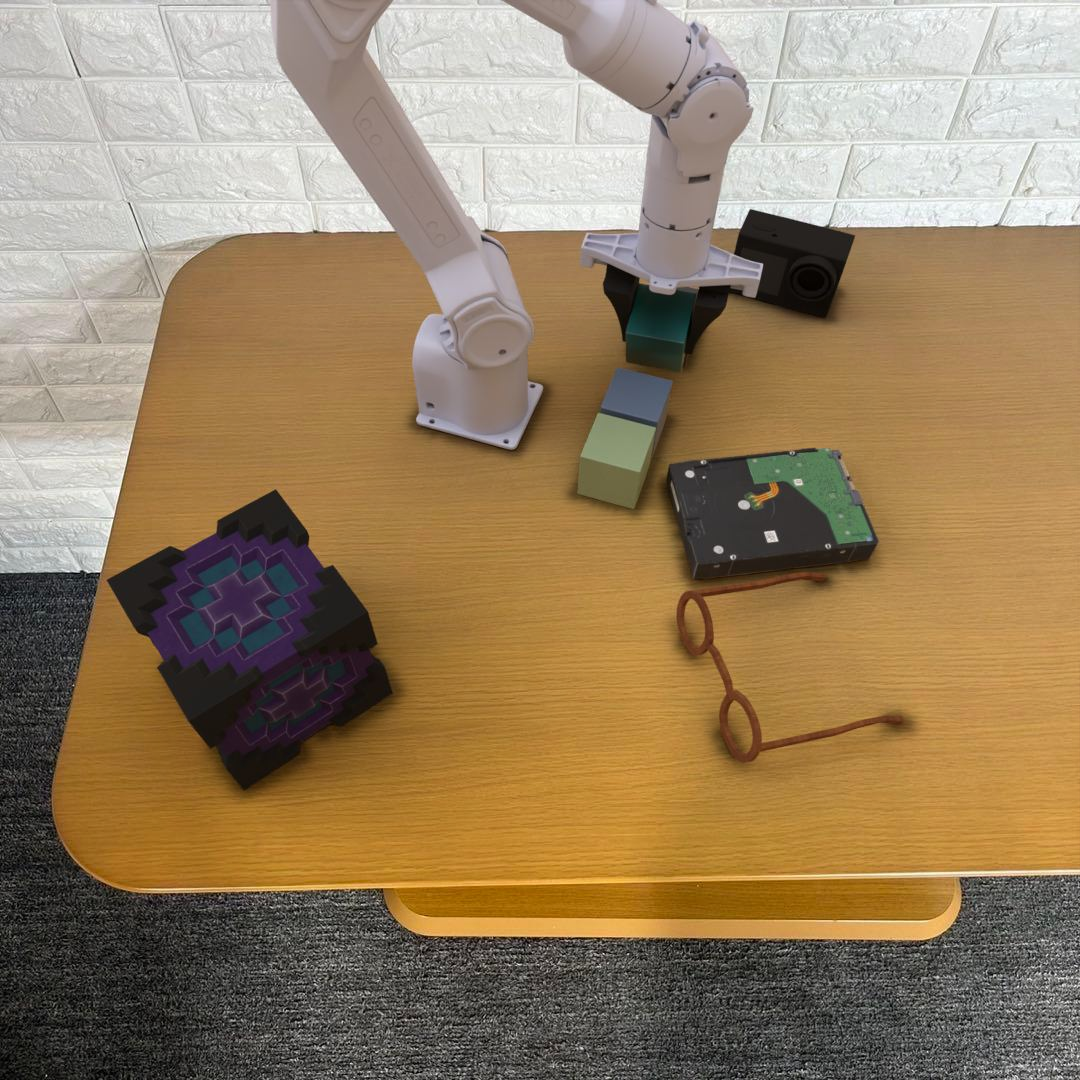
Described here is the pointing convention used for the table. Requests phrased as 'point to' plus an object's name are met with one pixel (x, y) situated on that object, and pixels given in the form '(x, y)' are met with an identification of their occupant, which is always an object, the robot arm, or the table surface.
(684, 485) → the disk drive
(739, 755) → the glasses
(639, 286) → the teal block
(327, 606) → the energy cube
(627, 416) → the slate block
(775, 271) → the digital camera
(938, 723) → the table surface
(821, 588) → the table surface
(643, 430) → the sage block
